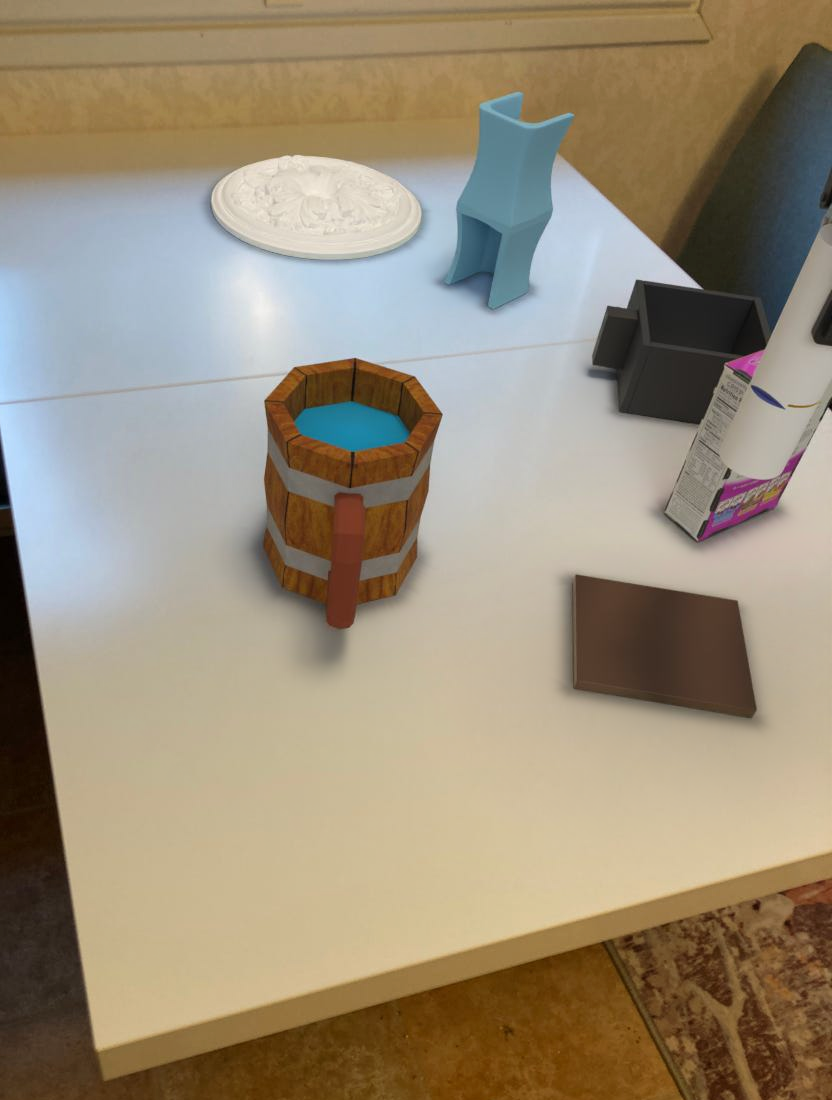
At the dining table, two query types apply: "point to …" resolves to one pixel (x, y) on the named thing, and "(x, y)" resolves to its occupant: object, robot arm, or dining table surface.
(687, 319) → the dark gray open box
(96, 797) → the dining table surface
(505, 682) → the dining table surface
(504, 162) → the blue flared stand
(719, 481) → the candy bar box
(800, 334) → the tube
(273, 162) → the ceiling medallion
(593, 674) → the cutting board
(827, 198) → the robot arm
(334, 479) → the mug
